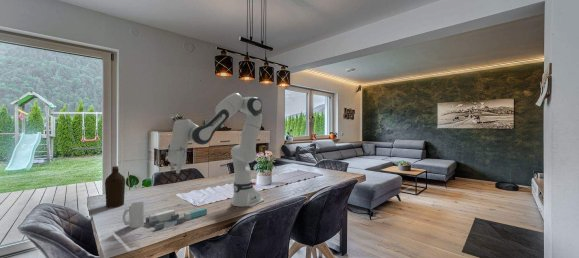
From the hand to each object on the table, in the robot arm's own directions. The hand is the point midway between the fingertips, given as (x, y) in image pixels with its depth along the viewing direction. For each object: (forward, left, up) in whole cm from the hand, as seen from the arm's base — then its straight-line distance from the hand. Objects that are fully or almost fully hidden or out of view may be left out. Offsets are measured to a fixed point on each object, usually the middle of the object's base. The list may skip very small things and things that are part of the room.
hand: (174, 172), depth 135 cm
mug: (+19, -4, -27) cm, 33 cm away
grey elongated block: (+6, -1, -26) cm, 26 cm away
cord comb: (+6, +2, -27) cm, 27 cm away
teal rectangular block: (-9, +6, -27) cm, 29 cm away
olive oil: (+15, -51, -27) cm, 59 cm away
